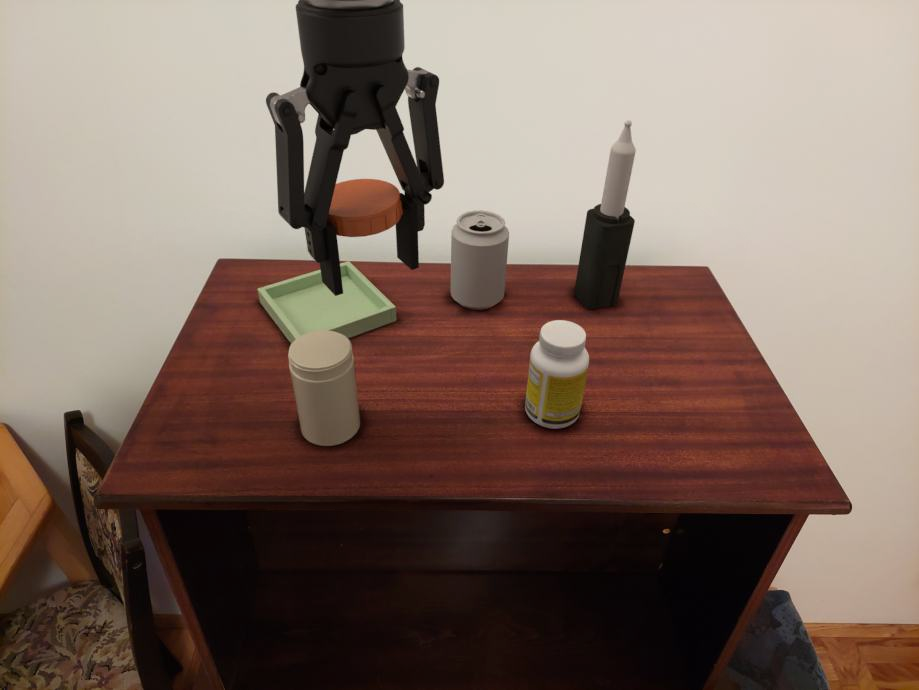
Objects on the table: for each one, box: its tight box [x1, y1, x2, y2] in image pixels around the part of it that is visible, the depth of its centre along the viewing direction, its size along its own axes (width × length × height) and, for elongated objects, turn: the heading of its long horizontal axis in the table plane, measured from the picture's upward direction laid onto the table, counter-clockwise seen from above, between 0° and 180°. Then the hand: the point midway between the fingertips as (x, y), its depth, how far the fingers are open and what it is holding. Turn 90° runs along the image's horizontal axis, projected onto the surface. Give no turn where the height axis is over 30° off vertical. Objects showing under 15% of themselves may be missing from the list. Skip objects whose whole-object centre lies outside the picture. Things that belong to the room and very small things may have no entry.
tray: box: [257, 260, 397, 345], centre depth 86 cm, size 14×14×2 cm
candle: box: [573, 119, 637, 311], centre depth 83 cm, size 5×5×25 cm
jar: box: [287, 330, 361, 447], centre depth 67 cm, size 6×6×11 cm
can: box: [449, 209, 510, 311], centre depth 86 cm, size 8×8×12 cm
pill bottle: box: [524, 319, 590, 430], centre depth 69 cm, size 6×6×11 cm
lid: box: [327, 178, 403, 238], centre depth 56 cm, size 7×7×2 cm
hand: (371, 274), depth 59 cm, fingers closed on lid, 7 cm apart
